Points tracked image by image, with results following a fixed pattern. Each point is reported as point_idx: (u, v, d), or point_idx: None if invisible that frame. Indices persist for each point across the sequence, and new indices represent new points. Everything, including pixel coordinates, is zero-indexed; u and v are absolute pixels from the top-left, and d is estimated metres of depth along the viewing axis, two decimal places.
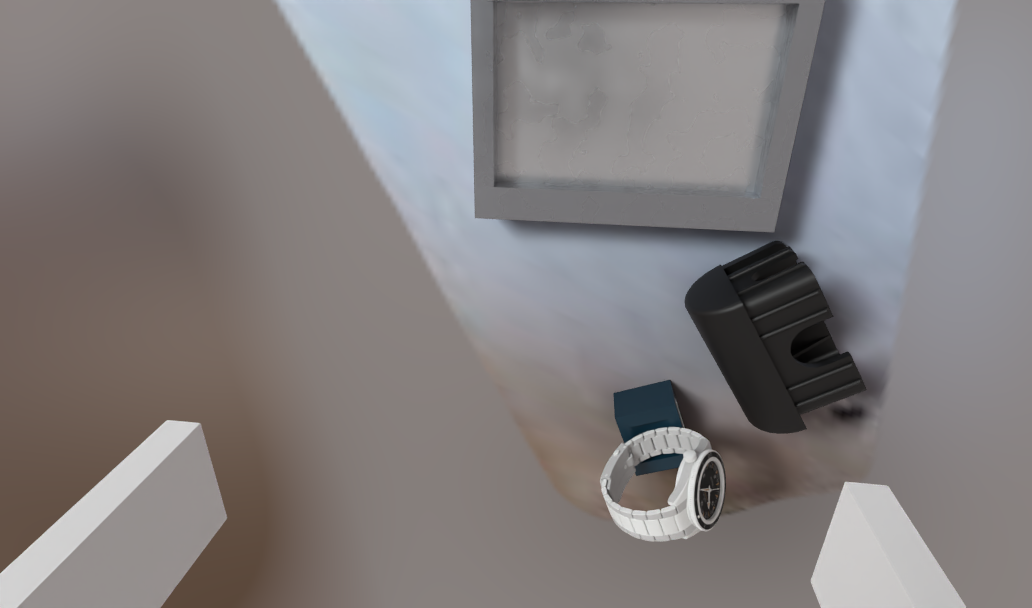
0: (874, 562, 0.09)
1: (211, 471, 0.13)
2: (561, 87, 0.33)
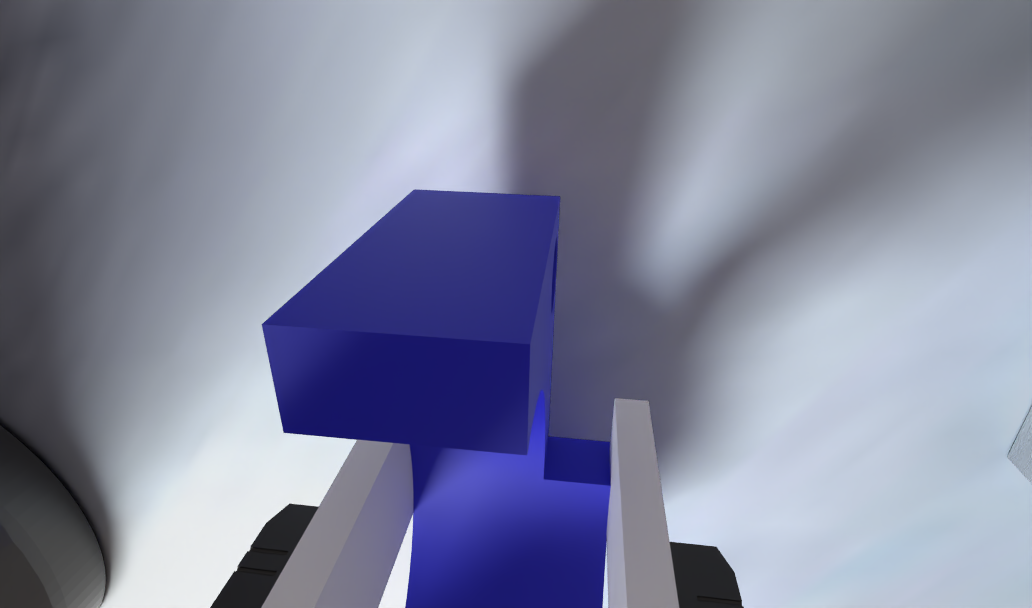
0: (615, 454, 0.12)
1: None
2: None
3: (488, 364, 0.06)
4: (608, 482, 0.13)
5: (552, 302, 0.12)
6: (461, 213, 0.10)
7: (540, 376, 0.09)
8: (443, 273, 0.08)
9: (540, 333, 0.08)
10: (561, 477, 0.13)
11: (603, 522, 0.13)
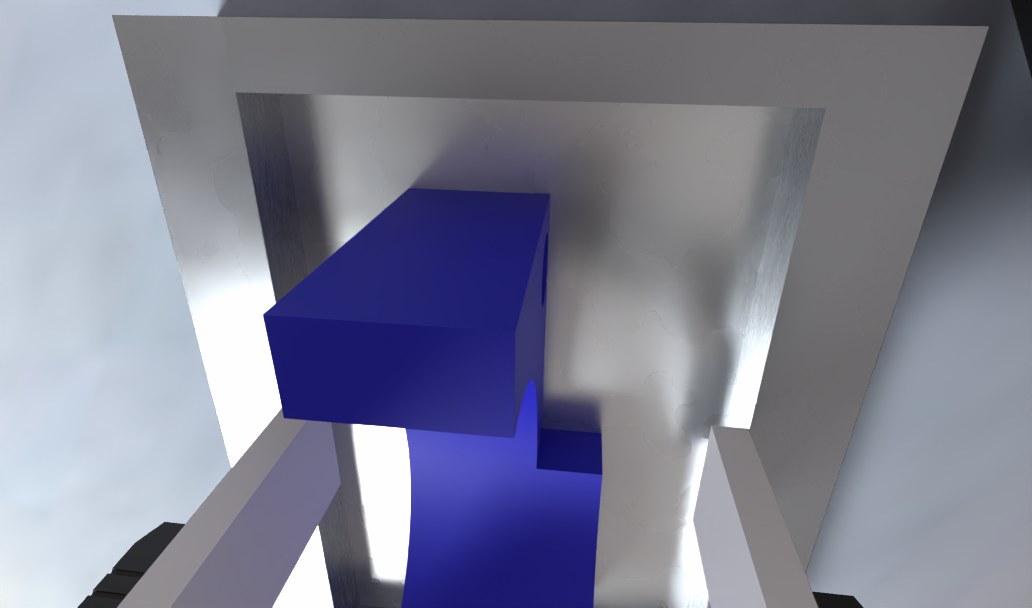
0: (723, 489, 0.11)
1: (331, 439, 0.14)
2: None
3: (475, 351, 0.07)
4: (599, 471, 0.13)
5: (543, 296, 0.12)
6: (453, 210, 0.11)
7: (529, 365, 0.09)
8: (434, 266, 0.08)
9: (528, 324, 0.08)
10: (553, 466, 0.13)
11: (594, 510, 0.13)
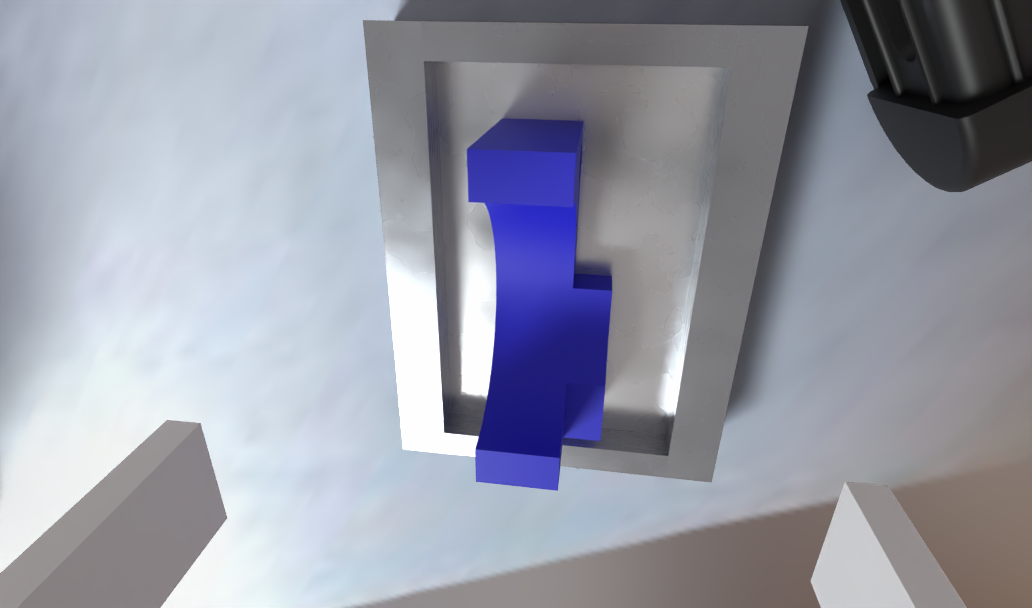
0: (875, 562, 0.09)
1: (212, 471, 0.13)
2: None
3: (558, 163, 0.15)
4: (610, 289, 0.22)
5: (579, 180, 0.21)
6: (532, 125, 0.20)
7: None
8: (533, 139, 0.17)
9: (577, 166, 0.17)
10: (583, 287, 0.22)
11: (607, 314, 0.22)
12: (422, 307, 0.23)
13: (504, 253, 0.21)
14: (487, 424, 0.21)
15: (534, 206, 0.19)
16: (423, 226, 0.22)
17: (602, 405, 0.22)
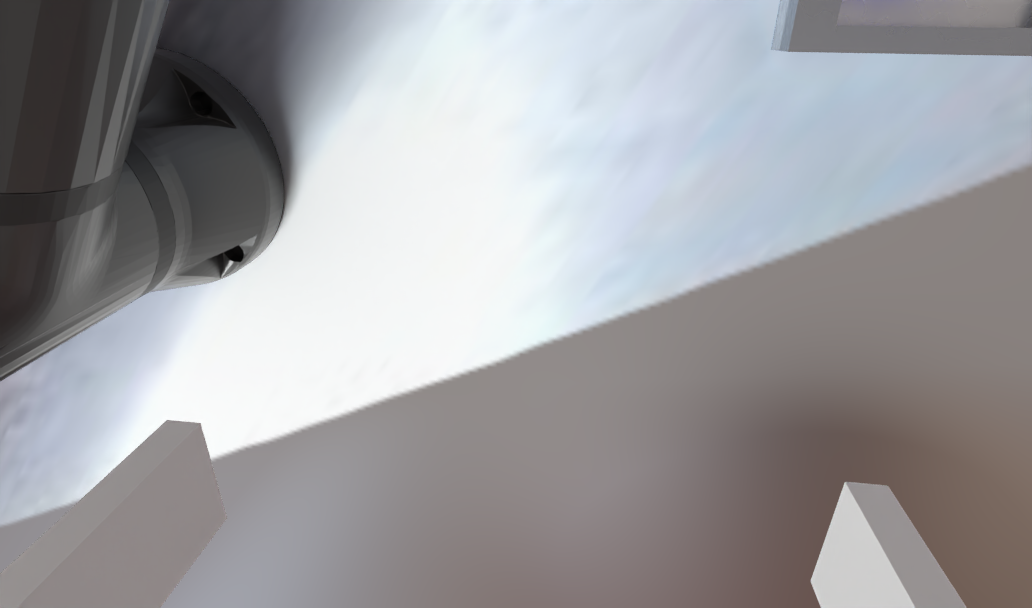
0: (874, 562, 0.09)
1: (211, 471, 0.13)
2: None
3: None
4: None
5: None
6: None
7: None
8: None
9: None
10: None
11: None
12: None
13: None
14: None
15: None
16: None
17: None
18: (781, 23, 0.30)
